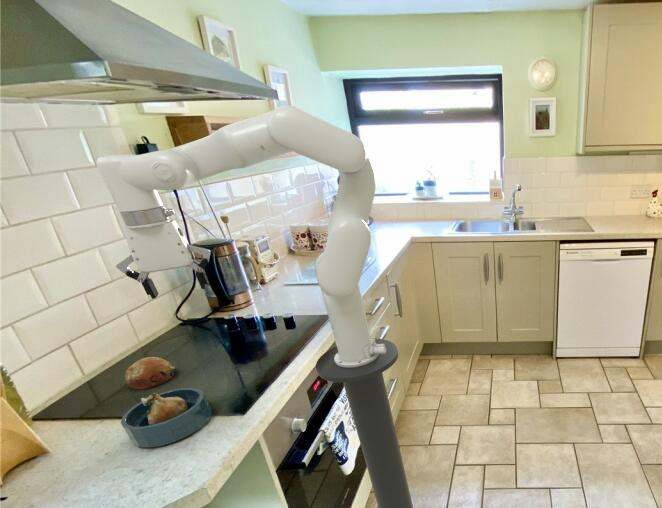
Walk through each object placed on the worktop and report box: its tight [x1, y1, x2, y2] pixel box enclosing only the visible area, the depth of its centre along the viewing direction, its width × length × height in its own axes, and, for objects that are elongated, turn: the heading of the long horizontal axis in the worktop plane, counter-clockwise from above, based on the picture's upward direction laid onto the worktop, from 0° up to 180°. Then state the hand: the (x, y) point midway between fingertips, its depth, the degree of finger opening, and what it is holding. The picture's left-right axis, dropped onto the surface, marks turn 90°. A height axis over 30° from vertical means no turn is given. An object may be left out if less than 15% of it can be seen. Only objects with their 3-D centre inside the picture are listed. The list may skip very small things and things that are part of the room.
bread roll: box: [124, 356, 176, 390], centre depth 111 cm, size 10×10×8 cm
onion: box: [140, 392, 188, 425], centre depth 91 cm, size 8×8×8 cm
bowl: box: [120, 387, 213, 448], centre depth 92 cm, size 15×15×6 cm
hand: (180, 292), depth 97 cm, fingers open, 9 cm apart
